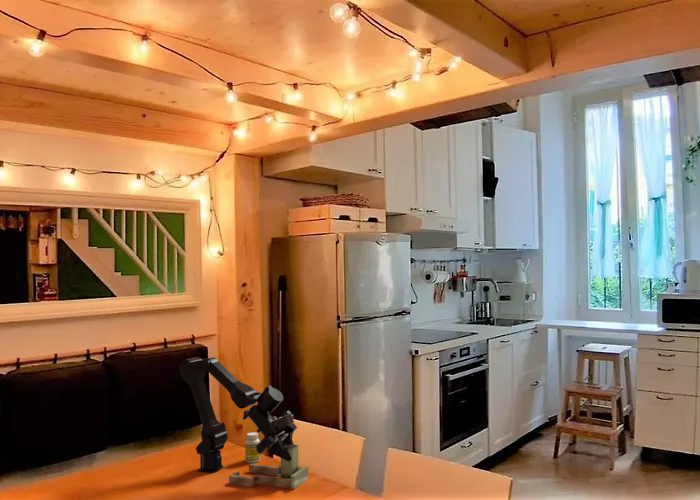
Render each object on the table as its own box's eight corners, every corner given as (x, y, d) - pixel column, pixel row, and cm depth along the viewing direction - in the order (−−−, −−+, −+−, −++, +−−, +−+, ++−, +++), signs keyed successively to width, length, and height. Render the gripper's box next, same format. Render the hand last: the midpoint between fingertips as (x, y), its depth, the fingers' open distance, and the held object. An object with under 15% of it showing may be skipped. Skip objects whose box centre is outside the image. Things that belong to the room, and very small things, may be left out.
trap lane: (229, 483, 188) (229, 471, 188) (254, 467, 202) (254, 456, 202) (290, 492, 179) (290, 479, 179) (312, 475, 194) (312, 463, 194)
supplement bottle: (256, 457, 214) (256, 430, 214) (262, 461, 209) (262, 434, 210) (242, 460, 211) (242, 433, 211) (248, 464, 206) (248, 436, 207)
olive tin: (280, 479, 187) (280, 447, 187) (287, 475, 191) (286, 443, 191) (292, 481, 186) (292, 448, 186) (298, 477, 190) (298, 444, 190)
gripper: (264, 411, 182) (296, 451, 177) (291, 398, 199) (321, 434, 195) (242, 434, 184) (273, 473, 180) (271, 420, 202) (300, 455, 197)
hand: (293, 458), depth 188 cm, fingers closed on olive tin, 4 cm apart
